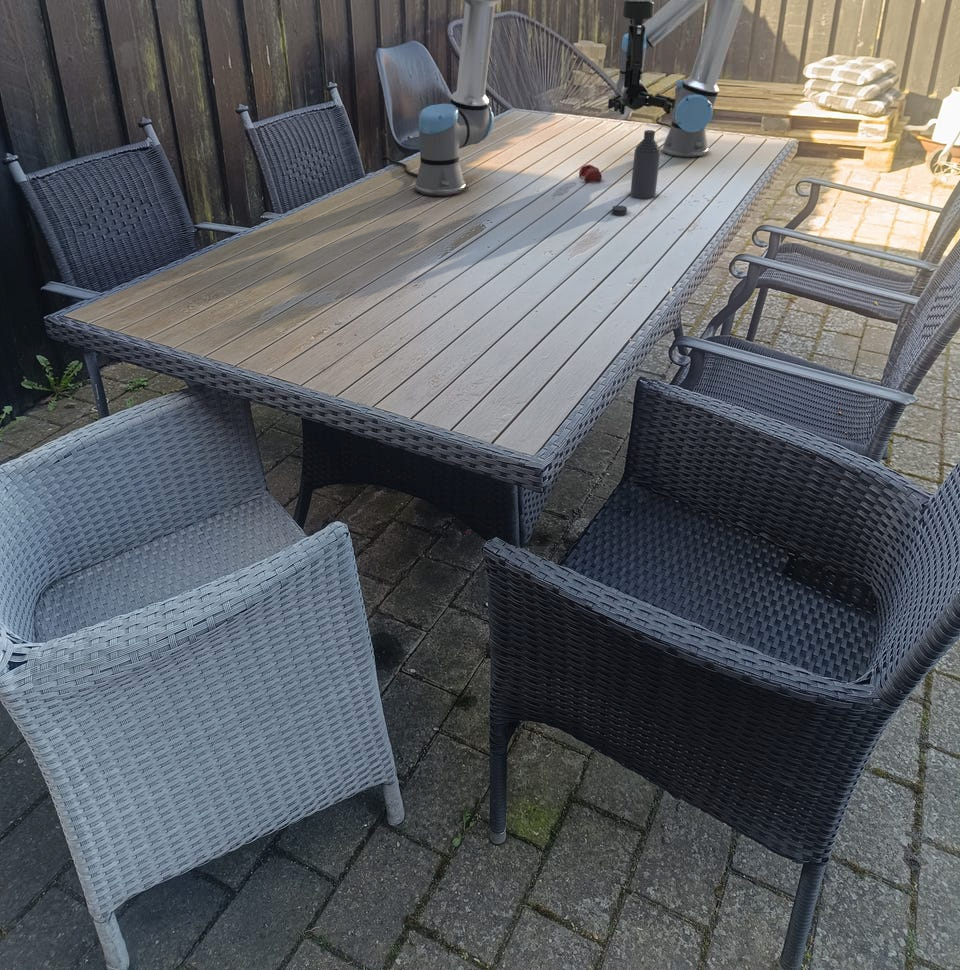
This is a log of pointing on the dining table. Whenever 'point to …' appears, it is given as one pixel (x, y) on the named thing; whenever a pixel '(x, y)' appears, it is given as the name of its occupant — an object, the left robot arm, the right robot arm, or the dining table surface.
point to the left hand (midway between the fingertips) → (630, 92)
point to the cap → (619, 210)
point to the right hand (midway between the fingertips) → (646, 109)
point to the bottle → (645, 167)
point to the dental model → (590, 173)
